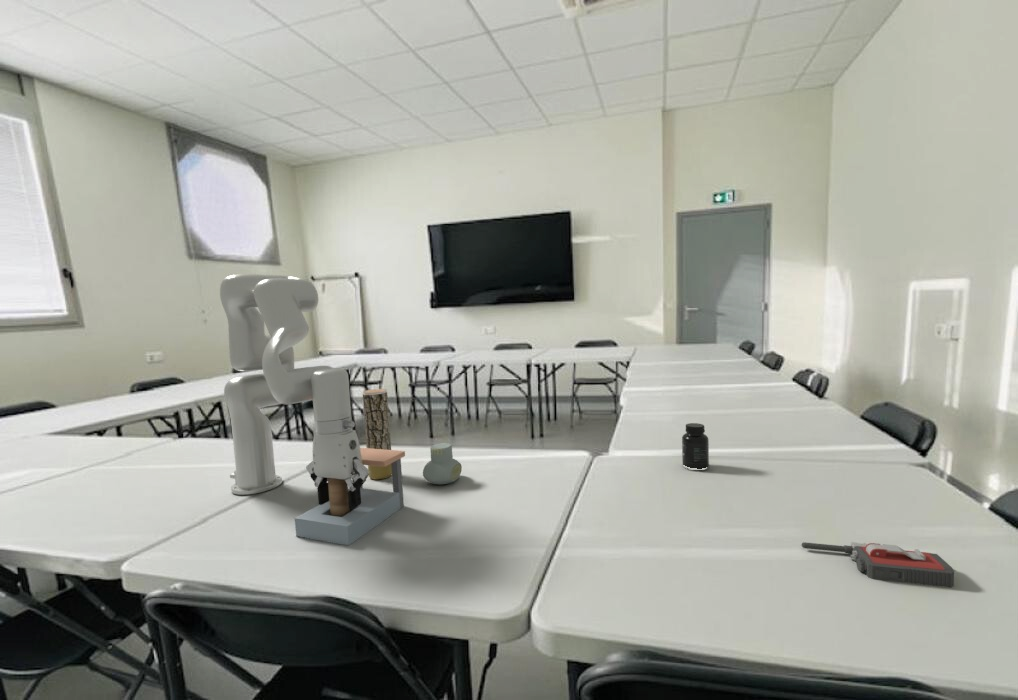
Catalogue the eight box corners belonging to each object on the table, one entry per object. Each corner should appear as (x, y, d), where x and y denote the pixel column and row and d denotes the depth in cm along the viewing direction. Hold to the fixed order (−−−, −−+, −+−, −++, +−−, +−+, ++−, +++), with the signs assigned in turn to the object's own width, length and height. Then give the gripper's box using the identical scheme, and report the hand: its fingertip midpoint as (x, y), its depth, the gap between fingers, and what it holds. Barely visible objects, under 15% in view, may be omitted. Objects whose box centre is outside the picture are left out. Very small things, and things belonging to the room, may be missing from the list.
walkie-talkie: (933, 562, 79) (799, 549, 85) (934, 537, 79) (799, 525, 85) (966, 592, 71) (815, 575, 77) (967, 564, 70) (815, 550, 77)
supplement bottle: (680, 463, 133) (679, 422, 132) (705, 463, 132) (704, 421, 131) (685, 471, 126) (684, 428, 125) (712, 471, 125) (711, 428, 124)
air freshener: (447, 489, 121) (445, 452, 121) (420, 487, 124) (417, 450, 123) (465, 475, 132) (463, 441, 131) (439, 473, 134) (437, 439, 134)
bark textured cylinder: (386, 480, 130) (380, 393, 128) (364, 480, 132) (357, 393, 130) (396, 472, 137) (391, 388, 135) (375, 471, 138) (369, 389, 136)
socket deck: (292, 535, 99) (287, 473, 98) (355, 499, 118) (351, 446, 117) (352, 546, 94) (347, 480, 92) (408, 505, 112) (404, 451, 111)
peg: (340, 522, 105) (336, 471, 104) (354, 524, 103) (350, 472, 102) (327, 530, 101) (323, 477, 100) (342, 533, 99) (338, 478, 98)
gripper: (377, 423, 100) (383, 501, 102) (315, 420, 107) (321, 494, 108) (354, 432, 93) (360, 516, 95) (289, 428, 100) (296, 507, 101)
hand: (339, 504), depth 102 cm, fingers open, 7 cm apart
